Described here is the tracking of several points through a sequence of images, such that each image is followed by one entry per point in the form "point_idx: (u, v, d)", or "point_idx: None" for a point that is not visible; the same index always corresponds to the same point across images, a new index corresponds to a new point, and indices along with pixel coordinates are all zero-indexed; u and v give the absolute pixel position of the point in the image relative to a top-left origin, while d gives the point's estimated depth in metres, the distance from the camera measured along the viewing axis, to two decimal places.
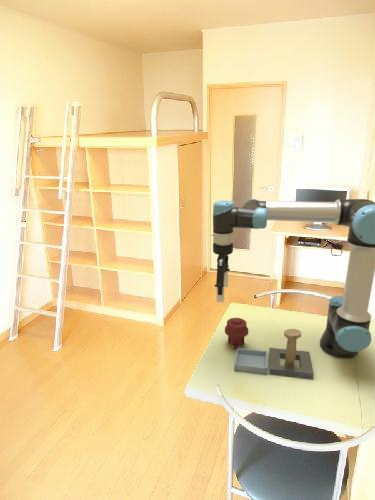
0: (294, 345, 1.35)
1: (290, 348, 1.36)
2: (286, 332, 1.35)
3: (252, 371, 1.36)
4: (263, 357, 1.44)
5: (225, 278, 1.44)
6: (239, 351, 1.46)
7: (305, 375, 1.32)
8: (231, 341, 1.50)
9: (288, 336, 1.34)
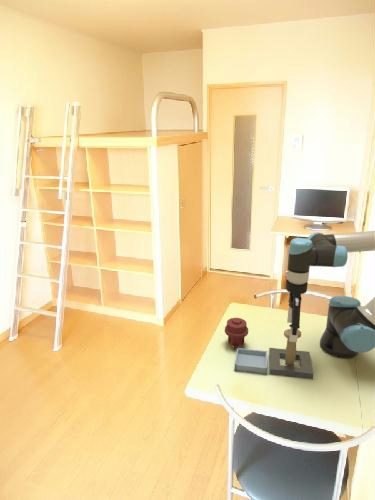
0: (294, 345, 1.35)
1: (290, 348, 1.36)
2: (286, 332, 1.35)
3: (252, 371, 1.36)
4: (263, 357, 1.44)
5: (292, 314, 1.40)
6: (239, 351, 1.46)
7: (305, 375, 1.32)
8: (231, 341, 1.50)
9: (288, 336, 1.34)
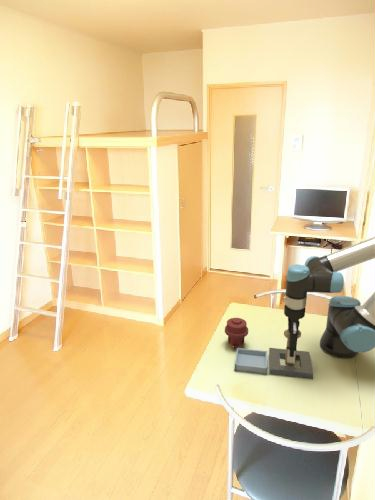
0: None
1: None
2: (286, 332, 1.35)
3: (252, 371, 1.36)
4: (263, 357, 1.44)
5: None
6: (239, 351, 1.46)
7: (305, 375, 1.32)
8: (231, 341, 1.50)
9: (288, 336, 1.34)
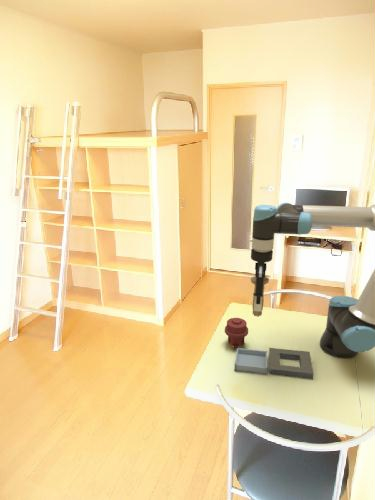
0: None
1: None
2: (253, 278, 1.29)
3: (252, 371, 1.36)
4: (263, 357, 1.44)
5: None
6: (239, 351, 1.46)
7: (305, 375, 1.32)
8: (231, 341, 1.50)
9: (255, 281, 1.27)
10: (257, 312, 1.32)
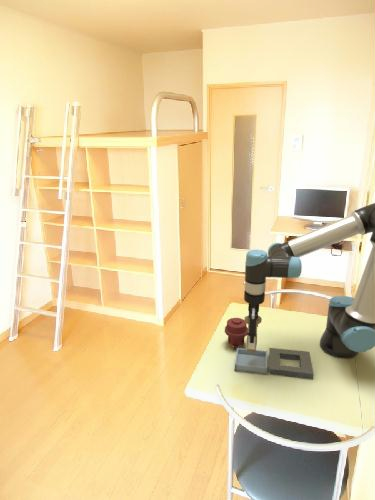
0: None
1: None
2: (246, 318, 1.35)
3: (252, 371, 1.36)
4: (263, 357, 1.44)
5: None
6: (239, 351, 1.46)
7: (305, 375, 1.32)
8: (231, 341, 1.50)
9: (248, 322, 1.33)
10: (251, 350, 1.37)
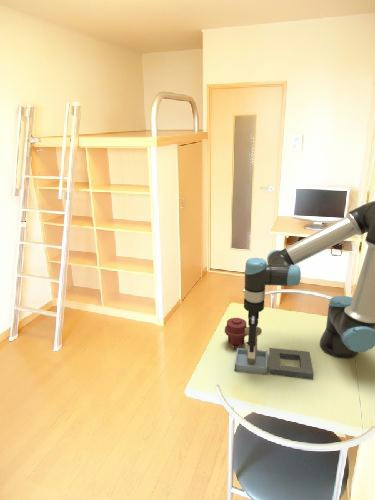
0: None
1: None
2: (247, 329, 1.36)
3: (252, 371, 1.36)
4: (263, 357, 1.44)
5: None
6: (239, 351, 1.46)
7: (305, 375, 1.32)
8: (231, 341, 1.50)
9: (248, 333, 1.34)
10: (251, 360, 1.39)
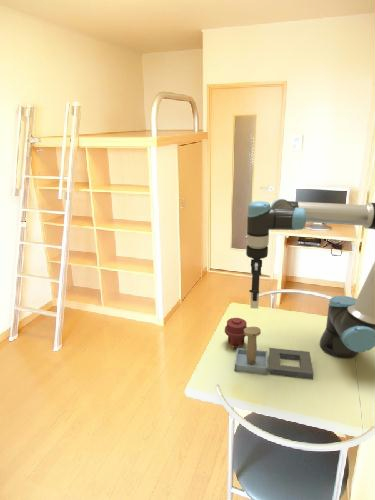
0: (254, 343, 1.36)
1: (250, 346, 1.36)
2: (246, 330, 1.36)
3: (252, 371, 1.36)
4: (263, 357, 1.44)
5: None
6: (239, 351, 1.46)
7: (305, 375, 1.32)
8: (231, 341, 1.50)
9: (247, 334, 1.34)
10: (251, 361, 1.39)
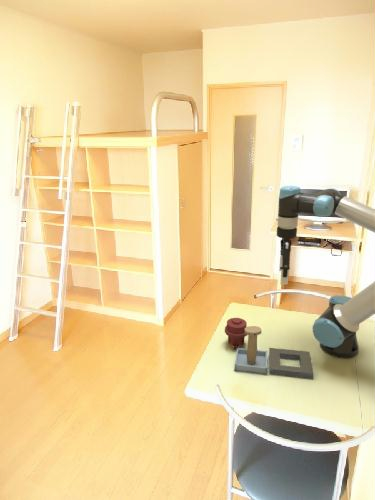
0: (254, 342, 1.36)
1: (251, 345, 1.37)
2: (247, 329, 1.36)
3: (252, 371, 1.36)
4: (263, 357, 1.44)
5: None
6: (239, 351, 1.46)
7: (305, 375, 1.32)
8: (231, 341, 1.50)
9: (248, 333, 1.35)
10: (251, 360, 1.39)
